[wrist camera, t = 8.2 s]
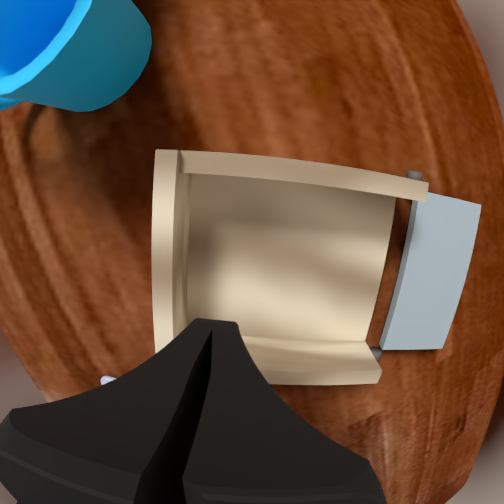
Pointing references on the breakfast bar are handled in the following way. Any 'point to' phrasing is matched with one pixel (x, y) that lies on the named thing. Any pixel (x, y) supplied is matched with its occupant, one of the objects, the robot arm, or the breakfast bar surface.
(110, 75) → the mug
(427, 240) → the panel
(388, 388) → the breakfast bar surface
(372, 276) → the box
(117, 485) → the robot arm
